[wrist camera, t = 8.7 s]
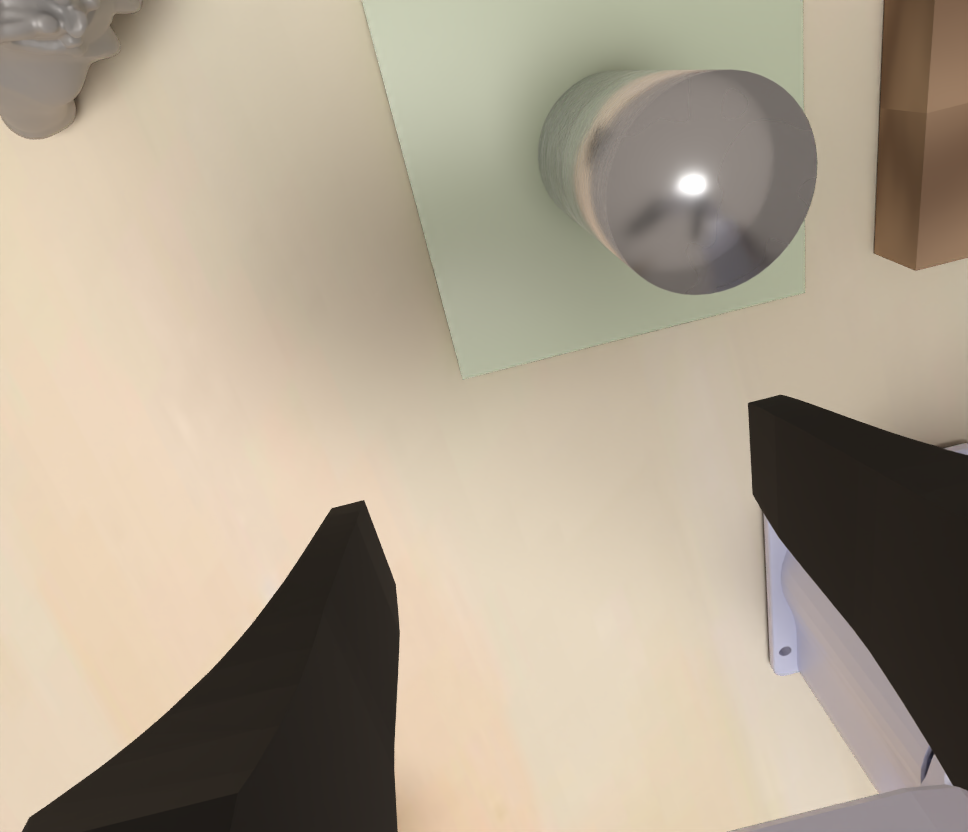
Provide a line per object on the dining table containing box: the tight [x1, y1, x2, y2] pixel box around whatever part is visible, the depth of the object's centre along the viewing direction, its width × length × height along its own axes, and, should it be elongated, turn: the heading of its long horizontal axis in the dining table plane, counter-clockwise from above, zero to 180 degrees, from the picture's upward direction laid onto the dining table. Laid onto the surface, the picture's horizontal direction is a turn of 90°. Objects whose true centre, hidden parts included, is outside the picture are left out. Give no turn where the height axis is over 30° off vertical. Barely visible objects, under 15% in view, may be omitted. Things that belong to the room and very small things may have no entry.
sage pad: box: [362, 0, 805, 380], centre depth 20 cm, size 11×11×1 cm
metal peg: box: [538, 70, 817, 295], centre depth 16 cm, size 4×4×7 cm
